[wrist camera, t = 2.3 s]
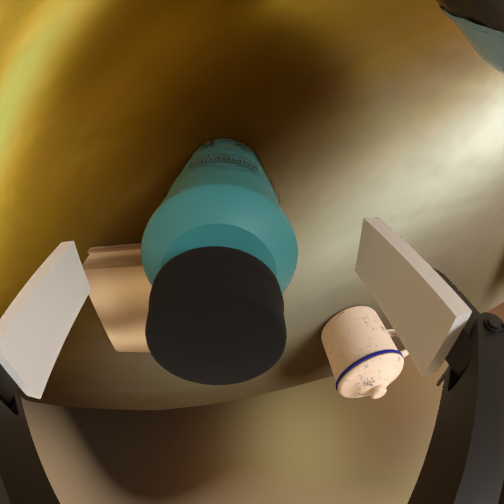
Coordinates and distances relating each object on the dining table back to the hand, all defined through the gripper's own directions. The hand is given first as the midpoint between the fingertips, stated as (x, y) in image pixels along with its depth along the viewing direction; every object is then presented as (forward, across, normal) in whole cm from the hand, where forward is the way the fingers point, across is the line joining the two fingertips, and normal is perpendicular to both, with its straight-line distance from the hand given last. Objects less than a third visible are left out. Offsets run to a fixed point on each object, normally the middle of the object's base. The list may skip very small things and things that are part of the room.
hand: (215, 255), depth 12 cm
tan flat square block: (+15, -9, -13) cm, 21 cm away
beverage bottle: (+15, 0, 0) cm, 15 cm away
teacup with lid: (+15, +17, -22) cm, 31 cm away
